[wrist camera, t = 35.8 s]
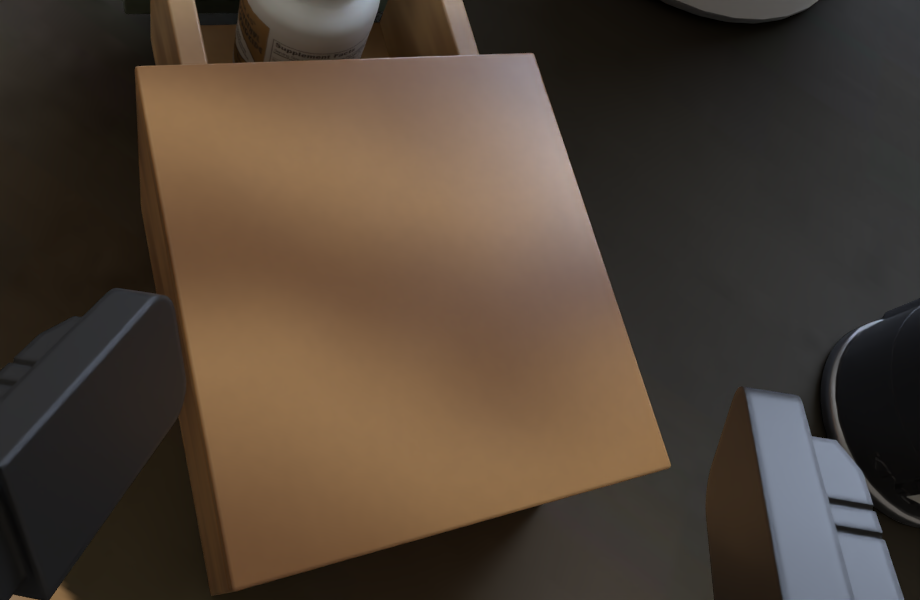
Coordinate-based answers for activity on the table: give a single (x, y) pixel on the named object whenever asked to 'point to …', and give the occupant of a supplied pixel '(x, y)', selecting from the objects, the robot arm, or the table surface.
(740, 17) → the humidifier
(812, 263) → the table surface
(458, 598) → the table surface
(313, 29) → the pill bottle
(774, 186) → the table surface
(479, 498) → the cabinet
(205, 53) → the drawer
